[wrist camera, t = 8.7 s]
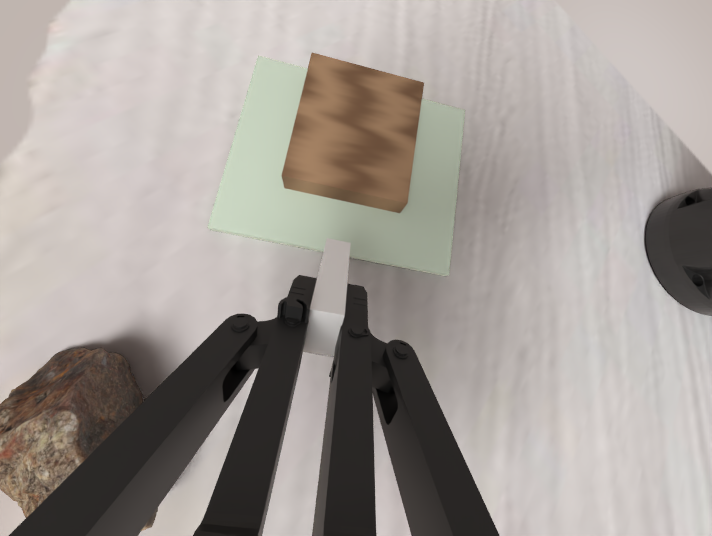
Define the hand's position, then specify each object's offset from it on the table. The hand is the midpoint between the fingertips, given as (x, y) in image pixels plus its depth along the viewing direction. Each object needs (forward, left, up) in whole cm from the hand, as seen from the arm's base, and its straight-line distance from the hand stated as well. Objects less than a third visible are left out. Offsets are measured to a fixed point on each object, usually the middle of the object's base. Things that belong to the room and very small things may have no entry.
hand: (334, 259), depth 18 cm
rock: (+16, +15, -10) cm, 24 cm away
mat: (0, -13, -10) cm, 16 cm away
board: (0, -8, -8) cm, 12 cm away
